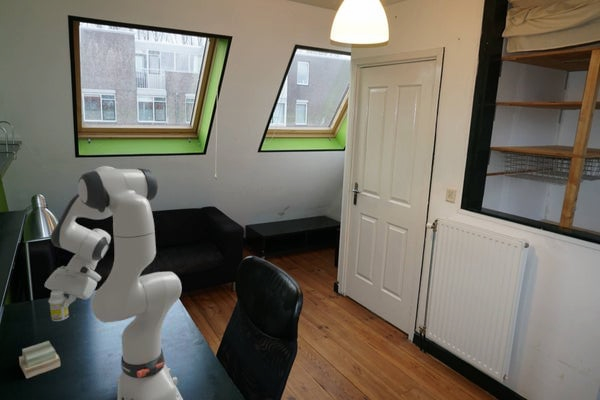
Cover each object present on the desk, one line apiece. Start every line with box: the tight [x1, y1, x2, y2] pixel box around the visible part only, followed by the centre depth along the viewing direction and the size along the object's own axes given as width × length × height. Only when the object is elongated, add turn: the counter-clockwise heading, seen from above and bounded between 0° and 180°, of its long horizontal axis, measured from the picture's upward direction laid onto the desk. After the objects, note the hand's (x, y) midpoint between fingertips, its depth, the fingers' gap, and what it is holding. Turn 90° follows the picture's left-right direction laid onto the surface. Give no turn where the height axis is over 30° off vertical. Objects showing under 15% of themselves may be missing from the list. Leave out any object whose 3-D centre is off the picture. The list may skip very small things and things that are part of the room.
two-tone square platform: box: [18, 340, 61, 379], centre depth 140 cm, size 10×10×6 cm
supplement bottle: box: [49, 290, 70, 322], centre depth 144 cm, size 5×5×10 cm
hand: (57, 305), depth 143 cm, fingers closed on supplement bottle, 5 cm apart
